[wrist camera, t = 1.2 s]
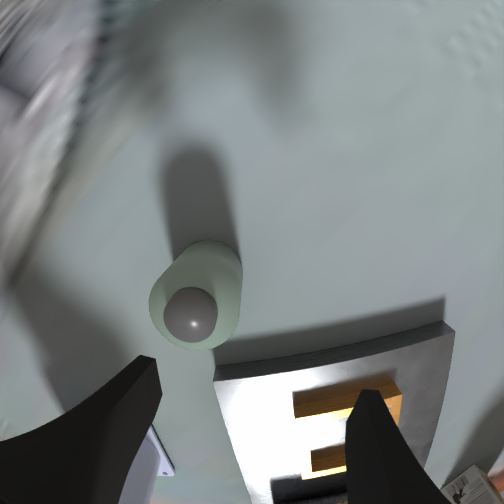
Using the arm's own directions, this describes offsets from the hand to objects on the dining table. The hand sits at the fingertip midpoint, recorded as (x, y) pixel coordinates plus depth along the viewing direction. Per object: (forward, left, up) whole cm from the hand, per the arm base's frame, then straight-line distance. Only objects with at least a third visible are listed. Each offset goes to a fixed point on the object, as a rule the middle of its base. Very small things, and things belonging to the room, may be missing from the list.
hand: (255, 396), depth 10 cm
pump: (-3, +2, -11) cm, 11 cm away
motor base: (+5, -16, -11) cm, 20 cm away
